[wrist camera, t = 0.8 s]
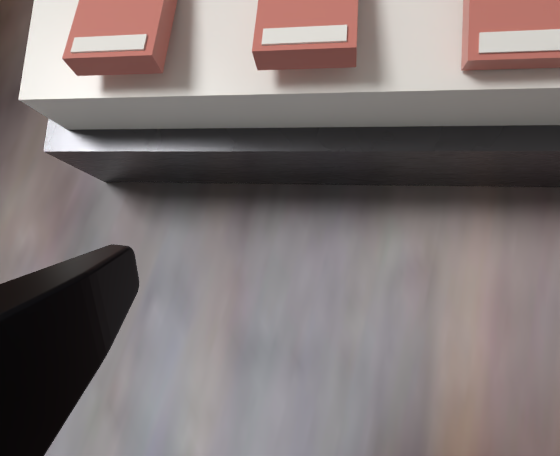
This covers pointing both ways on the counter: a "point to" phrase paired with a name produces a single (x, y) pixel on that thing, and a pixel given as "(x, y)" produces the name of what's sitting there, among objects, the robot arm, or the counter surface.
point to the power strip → (287, 76)
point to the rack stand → (317, 155)
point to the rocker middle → (305, 34)
